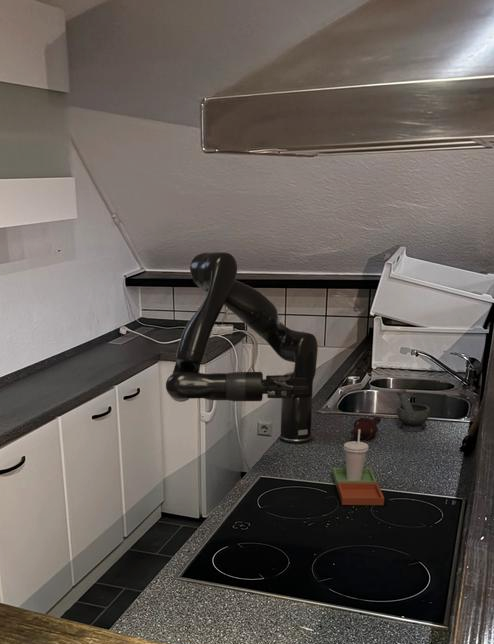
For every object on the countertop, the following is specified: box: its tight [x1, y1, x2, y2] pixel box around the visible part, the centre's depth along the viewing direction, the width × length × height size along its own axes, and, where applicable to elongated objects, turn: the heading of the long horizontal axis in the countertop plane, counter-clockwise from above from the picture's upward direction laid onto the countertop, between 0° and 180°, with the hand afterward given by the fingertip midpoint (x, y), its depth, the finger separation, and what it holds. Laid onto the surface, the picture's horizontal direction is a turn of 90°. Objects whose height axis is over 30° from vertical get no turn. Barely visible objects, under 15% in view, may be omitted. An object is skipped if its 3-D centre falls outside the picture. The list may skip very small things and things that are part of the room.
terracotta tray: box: [336, 482, 385, 506], centre depth 192 cm, size 10×10×2 cm
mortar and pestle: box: [396, 388, 431, 432], centre depth 242 cm, size 11×9×12 cm
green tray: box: [331, 467, 378, 489], centre depth 203 cm, size 10×10×2 cm
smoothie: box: [343, 429, 369, 481], centre depth 200 cm, size 6×6×14 cm
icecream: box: [350, 416, 382, 441], centre depth 234 cm, size 7×7×15 cm
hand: (307, 386), depth 195 cm, fingers open, 8 cm apart
